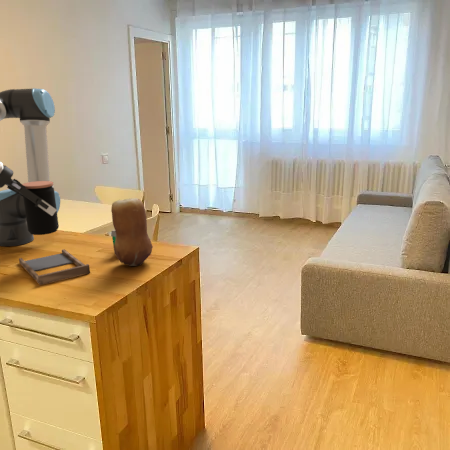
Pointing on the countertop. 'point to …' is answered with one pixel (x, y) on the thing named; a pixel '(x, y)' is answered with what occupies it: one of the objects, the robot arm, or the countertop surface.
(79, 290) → the countertop surface
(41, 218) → the coffee jar
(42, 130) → the robot arm
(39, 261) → the front mat
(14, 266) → the countertop surface
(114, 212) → the butternut squash
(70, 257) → the bay
